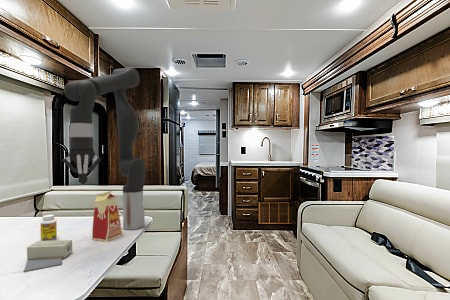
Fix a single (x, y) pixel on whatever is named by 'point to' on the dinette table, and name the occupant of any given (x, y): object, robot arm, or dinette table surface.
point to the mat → (42, 263)
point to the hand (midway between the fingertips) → (82, 183)
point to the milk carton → (106, 218)
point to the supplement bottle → (48, 228)
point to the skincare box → (49, 249)
